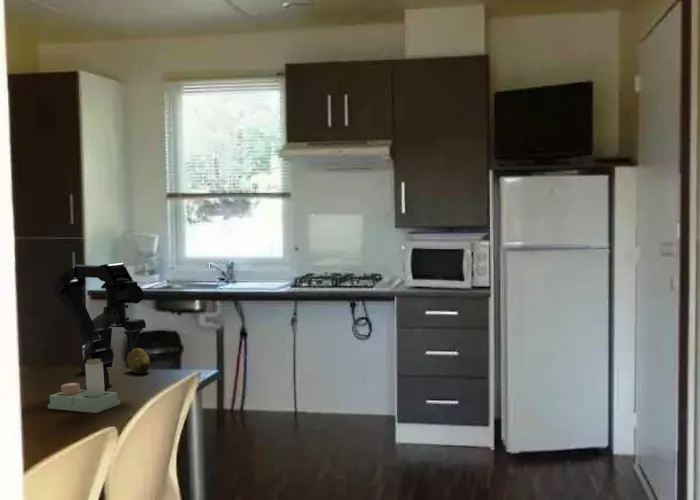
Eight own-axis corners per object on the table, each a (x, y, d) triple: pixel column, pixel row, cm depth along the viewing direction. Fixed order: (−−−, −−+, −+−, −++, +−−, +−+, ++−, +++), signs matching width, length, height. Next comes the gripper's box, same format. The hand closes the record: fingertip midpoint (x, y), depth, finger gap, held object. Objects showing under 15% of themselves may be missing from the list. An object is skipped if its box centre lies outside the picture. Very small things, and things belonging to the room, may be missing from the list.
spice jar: (85, 403, 242) (82, 359, 241) (101, 400, 244) (99, 357, 244) (91, 406, 238) (88, 362, 237) (107, 403, 240) (105, 359, 240)
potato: (125, 376, 284) (123, 353, 283) (128, 369, 296) (127, 347, 296) (150, 374, 285) (148, 351, 285) (152, 367, 298) (150, 345, 297)
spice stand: (48, 408, 243) (46, 387, 243) (73, 400, 252) (71, 380, 252) (95, 412, 235) (94, 391, 234) (120, 404, 243) (118, 383, 243)
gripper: (75, 305, 256) (78, 355, 257) (120, 306, 247) (124, 357, 248) (100, 301, 266) (104, 348, 267) (145, 301, 257) (148, 350, 258)
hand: (119, 351), depth 260 cm, fingers open, 9 cm apart
